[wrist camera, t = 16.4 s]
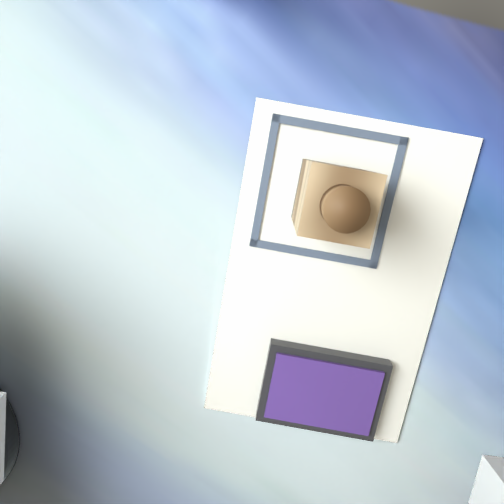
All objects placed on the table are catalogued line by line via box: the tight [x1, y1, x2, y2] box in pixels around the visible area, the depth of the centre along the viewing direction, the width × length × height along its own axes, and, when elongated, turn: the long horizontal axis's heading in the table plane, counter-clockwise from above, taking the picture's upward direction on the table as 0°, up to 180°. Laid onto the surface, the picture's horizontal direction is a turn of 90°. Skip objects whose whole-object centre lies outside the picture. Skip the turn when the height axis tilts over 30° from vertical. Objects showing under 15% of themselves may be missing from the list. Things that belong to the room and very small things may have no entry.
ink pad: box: [256, 338, 393, 441], centre depth 38 cm, size 10×7×2 cm
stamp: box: [291, 159, 388, 249], centre depth 30 cm, size 4×4×10 cm
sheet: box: [204, 98, 483, 443], centre depth 36 cm, size 17×26×1 cm, turn 170°
